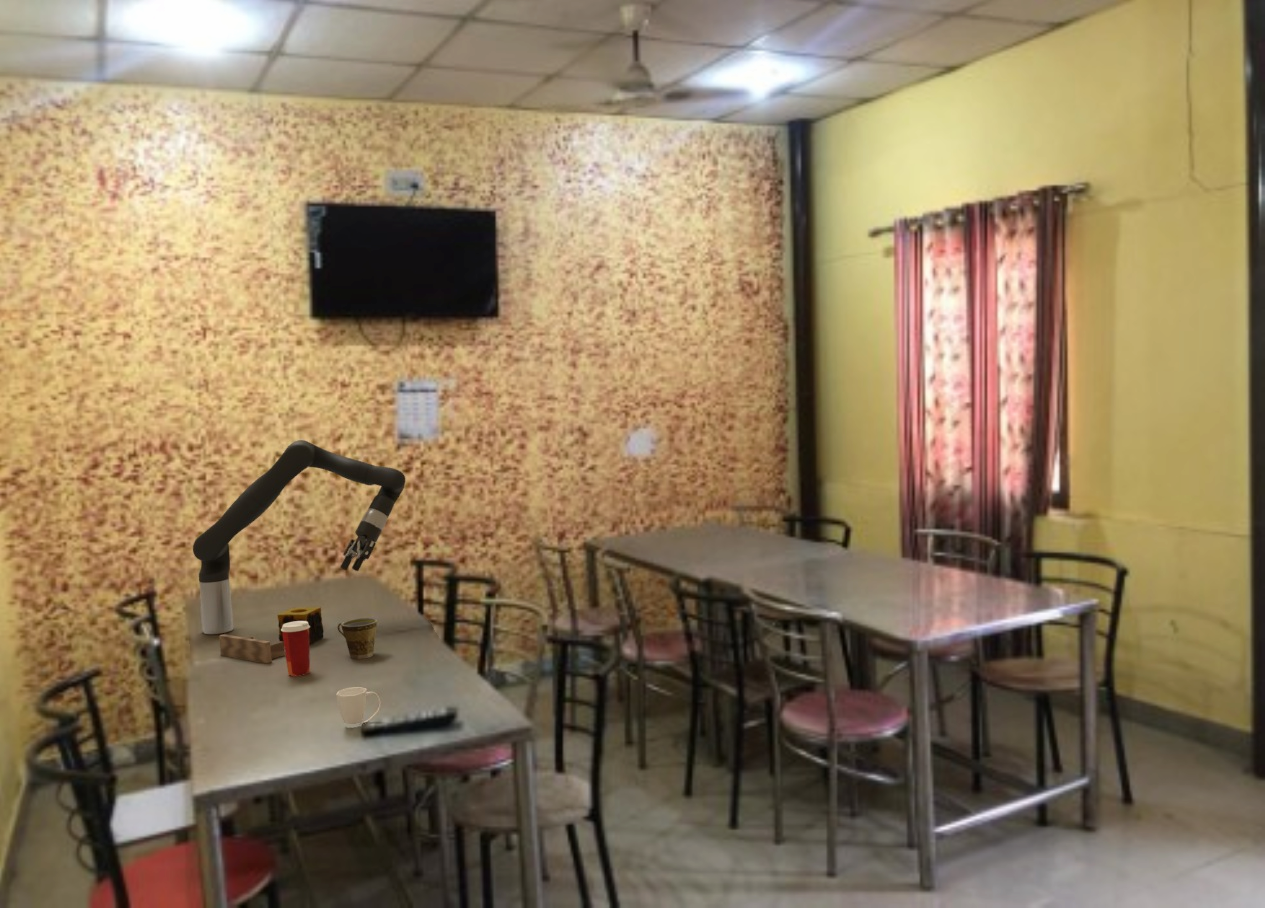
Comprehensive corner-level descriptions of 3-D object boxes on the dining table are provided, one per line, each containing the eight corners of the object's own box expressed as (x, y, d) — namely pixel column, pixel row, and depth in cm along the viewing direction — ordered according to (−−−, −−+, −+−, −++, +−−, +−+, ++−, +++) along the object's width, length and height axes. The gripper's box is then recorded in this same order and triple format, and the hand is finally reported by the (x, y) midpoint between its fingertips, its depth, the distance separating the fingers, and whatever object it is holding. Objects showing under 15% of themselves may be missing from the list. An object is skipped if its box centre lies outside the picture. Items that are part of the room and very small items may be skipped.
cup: (335, 724, 241) (332, 690, 241) (378, 715, 246) (375, 682, 245) (342, 732, 235) (339, 697, 234) (385, 723, 240) (383, 689, 239)
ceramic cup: (386, 652, 304) (383, 618, 303) (364, 661, 295) (361, 627, 294) (351, 649, 310) (348, 616, 309) (328, 658, 301) (325, 624, 300)
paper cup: (319, 670, 289) (315, 620, 288) (302, 678, 282) (298, 627, 281) (295, 668, 291) (291, 619, 290) (278, 676, 284) (274, 626, 283)
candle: (308, 646, 317) (306, 614, 316) (278, 646, 319) (275, 614, 318) (324, 637, 327) (322, 606, 326) (295, 638, 329) (293, 607, 328)
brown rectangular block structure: (220, 655, 311) (219, 635, 311) (245, 648, 318) (243, 629, 318) (267, 663, 299) (265, 642, 299) (291, 655, 306) (289, 635, 306)
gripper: (352, 519, 344) (329, 563, 338) (372, 519, 333) (349, 564, 327) (371, 530, 348) (348, 574, 342) (391, 530, 337) (368, 575, 331)
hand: (348, 569), depth 334 cm, fingers open, 8 cm apart
